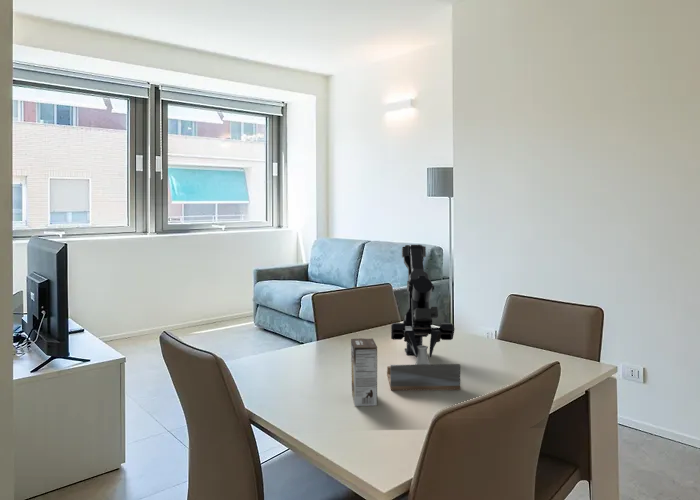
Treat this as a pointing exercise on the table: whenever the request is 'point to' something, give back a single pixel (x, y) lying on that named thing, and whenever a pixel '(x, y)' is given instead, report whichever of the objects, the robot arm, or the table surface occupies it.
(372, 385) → the coffee box
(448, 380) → the chalkboard eraser
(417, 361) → the flask
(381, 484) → the table surface
